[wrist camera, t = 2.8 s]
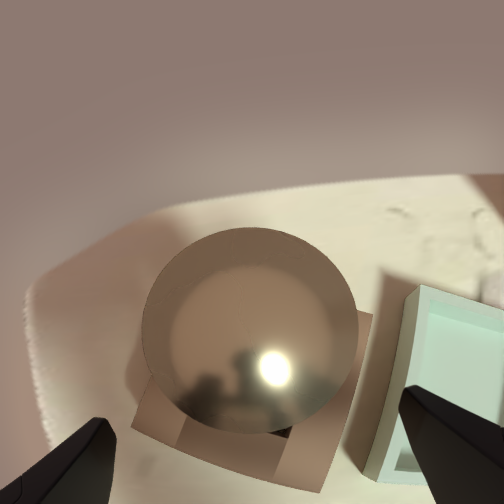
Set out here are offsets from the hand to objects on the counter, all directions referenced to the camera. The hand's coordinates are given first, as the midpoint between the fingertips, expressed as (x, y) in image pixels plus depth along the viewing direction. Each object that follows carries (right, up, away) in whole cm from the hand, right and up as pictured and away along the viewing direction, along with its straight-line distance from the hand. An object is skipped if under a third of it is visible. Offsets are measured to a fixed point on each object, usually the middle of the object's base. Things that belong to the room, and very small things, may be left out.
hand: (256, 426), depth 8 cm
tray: (+14, -5, +8) cm, 17 cm away
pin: (0, -3, +9) cm, 10 cm away
